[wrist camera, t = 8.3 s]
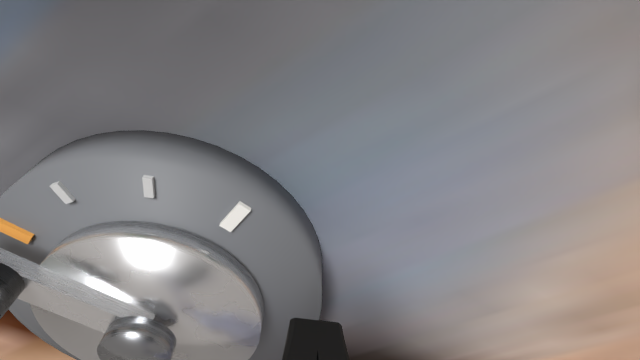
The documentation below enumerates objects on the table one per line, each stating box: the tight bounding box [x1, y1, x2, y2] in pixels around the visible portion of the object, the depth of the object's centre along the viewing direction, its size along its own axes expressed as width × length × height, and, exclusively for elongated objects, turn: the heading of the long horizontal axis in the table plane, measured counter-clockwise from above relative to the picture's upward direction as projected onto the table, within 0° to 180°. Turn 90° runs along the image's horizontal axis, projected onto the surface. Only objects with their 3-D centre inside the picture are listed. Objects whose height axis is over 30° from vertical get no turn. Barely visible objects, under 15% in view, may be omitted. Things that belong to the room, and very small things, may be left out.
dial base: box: [0, 131, 322, 360], centre depth 22 cm, size 17×17×3 cm
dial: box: [0, 221, 264, 360], centre depth 18 cm, size 14×11×6 cm
